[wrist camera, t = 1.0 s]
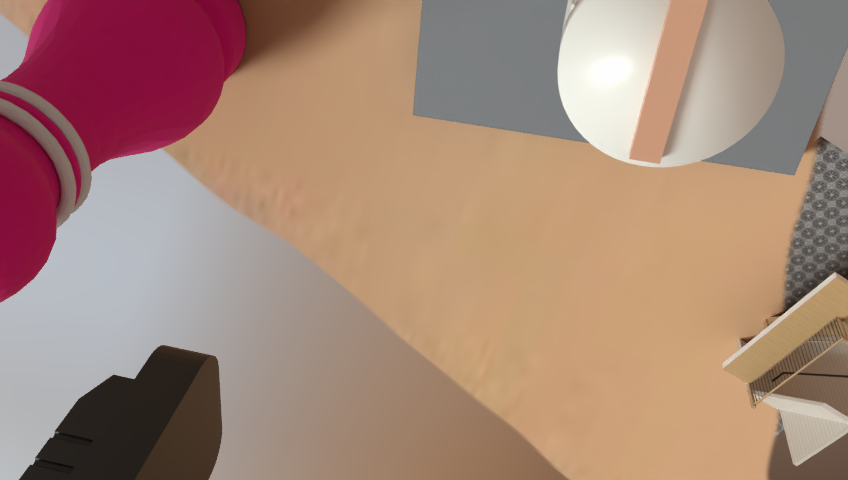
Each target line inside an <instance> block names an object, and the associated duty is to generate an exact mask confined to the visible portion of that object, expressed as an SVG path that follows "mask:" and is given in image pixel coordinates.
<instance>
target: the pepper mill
mask: <svg viewBox="0 0 848 480" xmlns="http://www.w3.org/2000/svg"><path fill="white" fill-rule="evenodd" d="M245 45H246V28H245V22H244V17H243V14H242V11H241V8H240V6H239V4H238V1H237V0H48V1H47V2H46V4H45V5H44V7H43V9H42V10H41V12H40V14H39V16H38V18H37V20H36V22H35V24H34V26H33V28H32V32H31V35H30V38H29V42H28V46H27V50H26V54H25V57H24V60H23V62H22V64H21V65H20V66H19V68H18V69H16V70H15V71H14V72H13V73H11V74H10V75H9V76H8V77H6V78H5V79H2V80H0V302H2V301H4V300H6V299H7V298H9V297H10V296H12V295H14V294H16V293H17V292H18V291H20V290H21V289H22V288H23V287H24V286H26V285H27V284H28V283H29V282H30V281H31V280H33V279H34V278H35V276H36V275H37V274H38V272H39V271H40V270H41V269H42V267H43V266H44V264H45V263H46V262H47V260H48V257H49V255H50V252H51V250H52V247H53V245H54V242H55V240H56V229H57V228H58V227H59V226H61V225H62V224H63V223H64V222H65V221H66V220H67V219H68V218H69V216H70V214H71V213H73V212H75V211H76V210H77V209H78V208H79V207H80V206H81V205H82V203H83V202H84V201H85V199H86V198H87V195H88V193H89V190H90V185H91V179H92V178H91V171H93V170H94V169H95V168H96V167H97V166H99V165H100V164H102V163H104V162H106V161H108V160H110V159H114V158H118V157H123V156H129V155H134V154H140V153H144V152H150V151H154V150H157V149H159V148H162V147H165V146H167V145H170V144H172V143H174V142H176V141H178V140H180V139H182V138H184V137H186V136H187V135H188V134H189V133H191V132H192V131H193V130H194V129H196V128H197V127H198V126H199V125H201V124H202V123H203V122H204V121H205V120H206V119H207V118H208V116H209V115H210V114H211V113H212V111H213V109H214V108H215V106H216V104H217V102H218V100H219V98H220V95H221V91H222V88H223V83H224V82H225V81H226V80H227V78H228V77H229V76H230V75H231V74H232V73H233V72H234V71H235V69H236V68H237V67H238V65H239V63H240V62H241V59H242V57H243V54H244V50H245Z"/></svg>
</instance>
